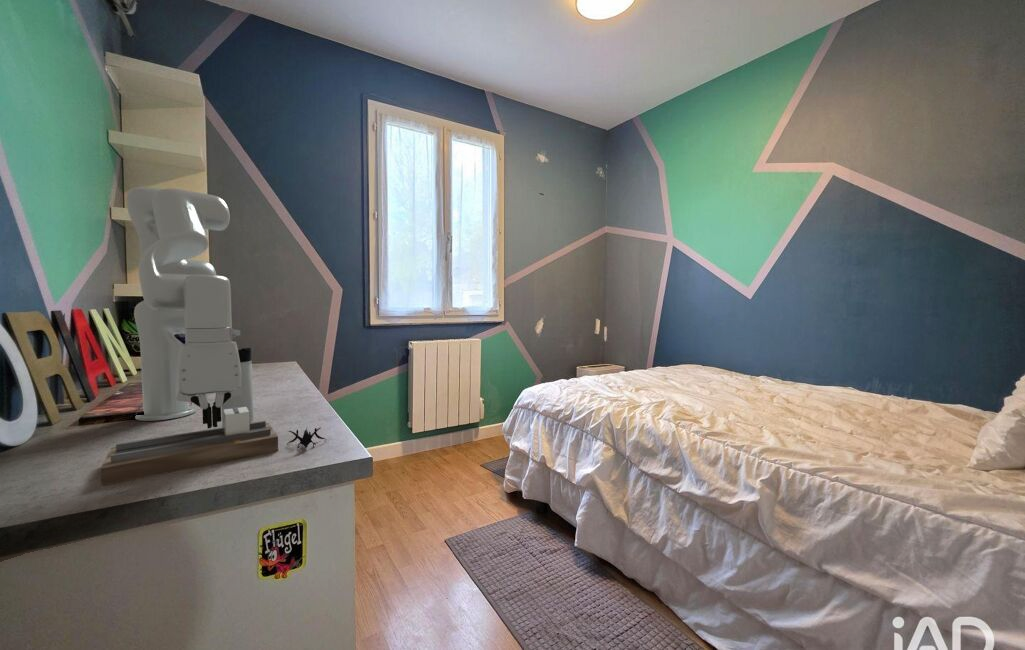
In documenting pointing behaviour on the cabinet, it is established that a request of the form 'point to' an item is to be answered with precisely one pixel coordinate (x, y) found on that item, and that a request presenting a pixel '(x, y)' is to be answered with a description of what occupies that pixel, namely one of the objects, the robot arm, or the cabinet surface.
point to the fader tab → (236, 420)
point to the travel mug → (243, 386)
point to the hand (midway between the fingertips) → (212, 426)
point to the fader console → (184, 452)
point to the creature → (305, 437)
